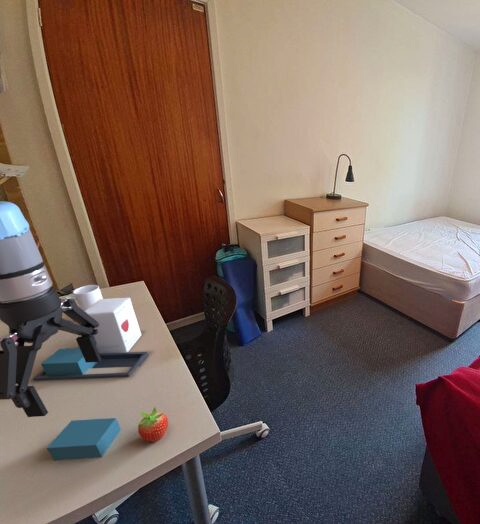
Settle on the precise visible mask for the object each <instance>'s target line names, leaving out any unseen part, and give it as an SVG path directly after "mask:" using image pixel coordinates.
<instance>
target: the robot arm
mask: <svg viewBox="0 0 480 524" xmlns="http://www.w3.org/2000/svg"><path fill="white" fill-rule="evenodd" d="M53 284H54V283H53V281H52V278H51V275H50V274H49V270H48V269H47V267H46V265H45V262H44V260H43V257H42V255H41V253H40V250H39V248H38V245H37V243H36V241H35V238H34V235H33V234H32V232H31V228H30V224H29V222H28V220H26V218H25V216H24V214H23V212H22V211H21V208H20V207H19V206H18V205H17V204H15V203H13V202H11V201H4V200H3V201H0V321H1V322H2V323H3V324H5V325H6V326H7V327H8V334H5V335H4V336H1V337H0V400H1V401H2V400H11V402H12V403H13V404H14V406H15V408H18V409H22V410H23V412H24V413H25V415H26V417H27V418H35V417H36V418H37V417H45V416H46V415H48V413H49V411H48V409H47V408H46V405H45V404H44V402H43V400H42V398H41V396H40V395H39V393H38V391H37V389H36V388H35V386H34V385H29V383H30V379H31V375H32V372H33V368H34V365H35V362H36V358H37V355H38V351H39V350H41V349H42V347H43V343H45V342H47V341H48V340H49V339H50V338H51V337H52V336H55V335H56V334H58V333H59V331H62V332H65V333H70V334H72V335H77V337H76V338H75V341H76V343H77V345H78V348H80V350H81V352H82V354H83V357H84V359H85V361H86V363H87V362H100V361H101V360H102V359H101V357H100V354H99V352H98V350H97V347H96V345H97V343H96V341H95V338H94V335H96V334H97V333H98V330H97V329H95V328H96V327H98V326H99V322H97V321H96V320H95V319H94V318H92V317H91V316H90V315H88V314H87V313H86V312H85V311H83V310H82V309H81V308H80V306H79V304H78V303H77V301H76V300H74V299H66V298H60V295H59V293H58V291H57V289H56V287H54V286H53ZM63 314H64V315H66V316H67V317H68V318H70V319H71V320H68V319H65V318H63ZM72 321H74V322H75V323H74V322H72ZM25 343H26V344H30V345H25Z"/></svg>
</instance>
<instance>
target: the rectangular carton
mask: <svg viewBox="0 0 480 524" xmlns="http://www.w3.org/2000/svg"><path fill="white" fill-rule="evenodd" d="M85 312H86V313H87V314H88V315H90V316H91V317H92V318H94V319H95V320H96V321H97V322H99V326H98V327H96V328H95V329H97V330H98V333H97V334H96V335H94V338H95V341H96V343H97V345H96V347H97V350H98V352H99V353H127V352H130V350H131V349H132V347H133V346H134V345H135V344H136V343H137V342H138V340H140V338H141V336H142V332H141V329H140V326H139V322H138V319H137V316H136V313H135V309H134V307H133V303H132V300H131V297H118V298H117V297H115V298H103V299H99V300H98V301H97V302H96V303H94V304H93V305H91V306H90V307H89V308H88V309H87V310H85Z"/></svg>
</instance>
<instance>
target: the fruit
mask: <svg viewBox="0 0 480 524" xmlns="http://www.w3.org/2000/svg"><path fill="white" fill-rule="evenodd" d="M141 416H142V419H141V421H140V422H138V423H136V424H137V425H138V427H137V430H138V434H139V436H140V437H141V438H142V439H143V440H145V441H147V442H157V441H160V440H161V439H163V438H164V436H165V434H166V433H167V431H168V427H169V419H168V416H167V415H166V414H165V413H162V412H158V411H157V409H156V406H154V407H153V409H152V410H151V413H147V412H146V413H145V412H143V411H141Z"/></svg>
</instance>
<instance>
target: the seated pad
mask: <svg viewBox="0 0 480 524" xmlns="http://www.w3.org/2000/svg"><path fill="white" fill-rule="evenodd" d="M97 363H98V362H87V363H86V361H85V359H84V357H83V354H82V352H81V350H80V348H79V347H72V348H71V347H69V348H59V349H58V350H56V351H55V352H54V353H53V354H51V355H50V356H49V357H48V358H46V359H45V360H44V361H42V362H41V363H40V365H41V367H42V369H43V370H44V371H45V373H46V374H45V376H59V375H83V374H86V372H88V370H89V369H94V368H93V367H94V366H95V365H96V364H97Z"/></svg>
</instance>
